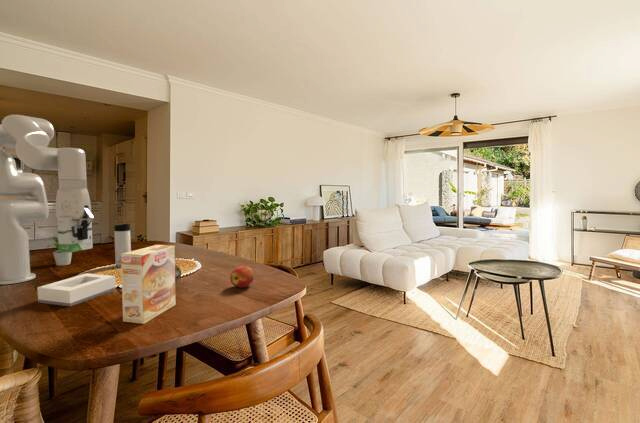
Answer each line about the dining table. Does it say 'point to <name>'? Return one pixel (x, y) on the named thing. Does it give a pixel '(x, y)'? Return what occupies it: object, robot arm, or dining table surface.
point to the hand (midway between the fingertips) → (75, 238)
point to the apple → (242, 276)
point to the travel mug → (121, 241)
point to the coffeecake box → (148, 282)
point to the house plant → (60, 254)
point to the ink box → (72, 235)
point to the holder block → (76, 289)
